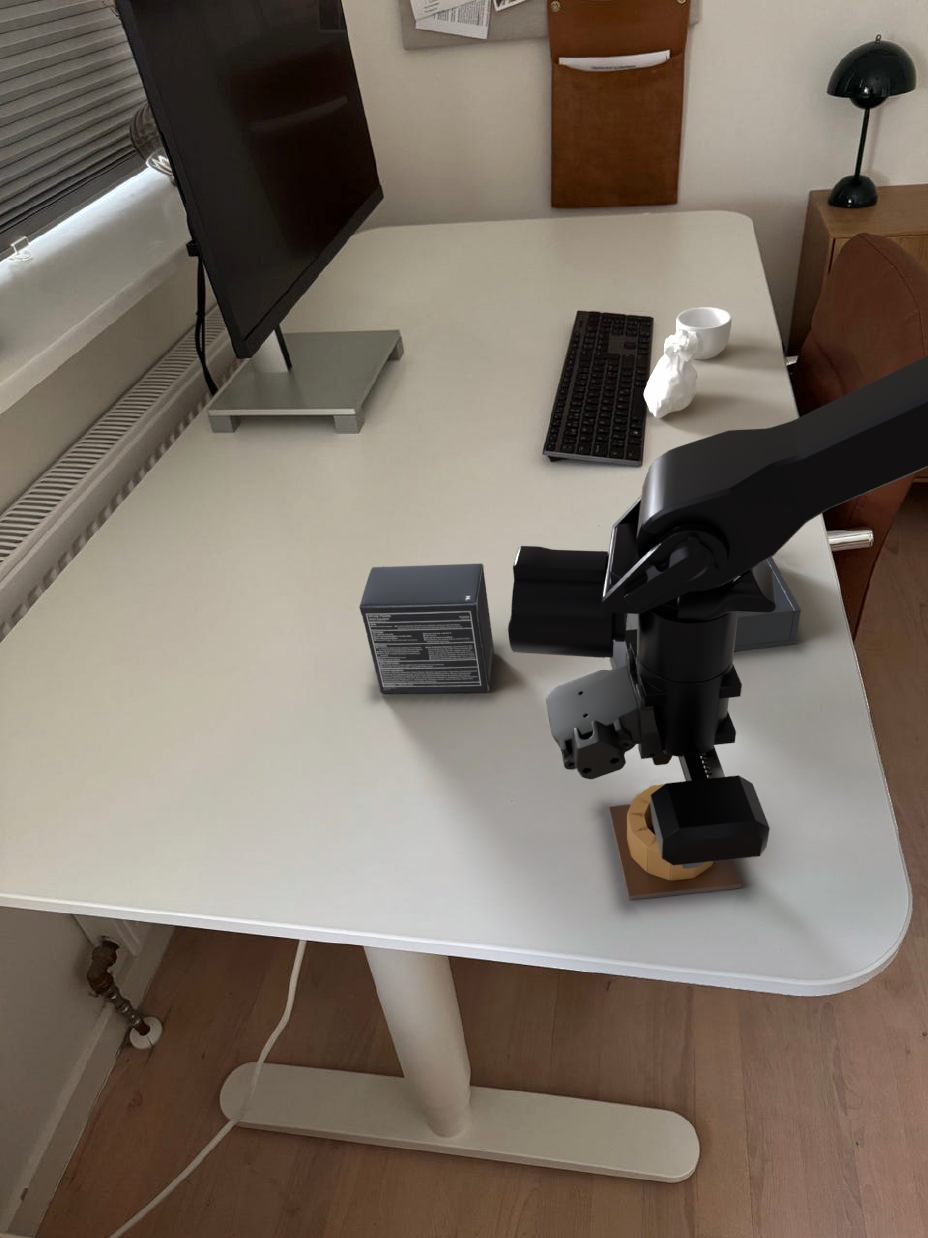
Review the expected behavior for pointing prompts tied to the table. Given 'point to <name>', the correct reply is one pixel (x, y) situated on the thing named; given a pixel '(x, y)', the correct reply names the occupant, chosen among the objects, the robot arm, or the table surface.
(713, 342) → the teacup
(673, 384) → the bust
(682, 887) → the wooden peg board
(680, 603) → the robot arm
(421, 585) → the small box
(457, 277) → the table surface
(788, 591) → the tray
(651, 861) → the tape
